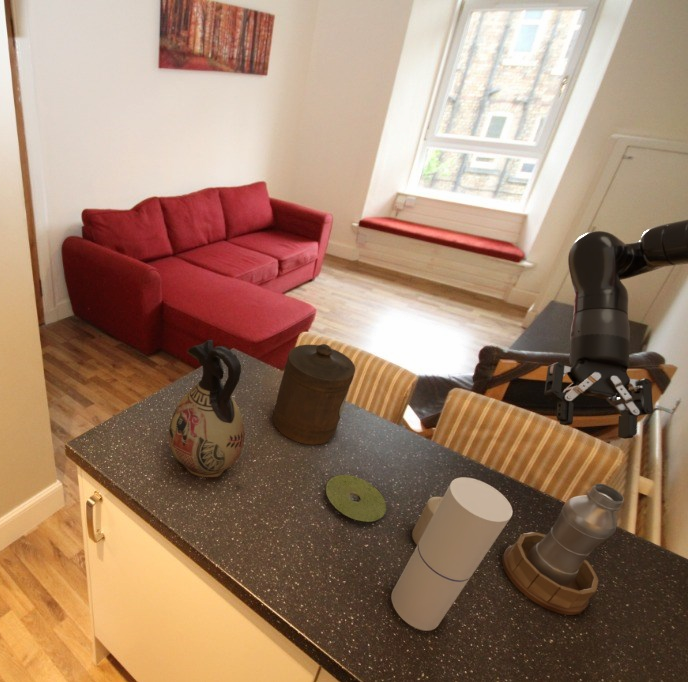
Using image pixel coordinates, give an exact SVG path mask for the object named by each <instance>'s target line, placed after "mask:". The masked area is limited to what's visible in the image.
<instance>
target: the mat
mask: <svg viewBox="0 0 688 682" xmlns="http://www.w3.org/2000/svg"><path fill="white" fill-rule="evenodd" d="M325 494H326V496H327V499H328V500H329V502H330V503H331V505H332V506H333V507H334V508H335V509H336V510H337V511H338V512H340V513H341V514H342V515H344V516H346V517H347V518H350V519H353V520H356V521H359V522H368V523H369V522H371V523H372V522H375V521H377V520H378V521H379V520H380V519H382V518H383V517H384V516H385V514H386V511H387V504H386V499H385V498H384V497H383V495H382V493H381V492H380V491H379V490H378V489H377V488H376V487H375V486H374V485H372V484H371V483H369V482H368V481H367V480H365V479H363V478H360V477H357V476H354V475H350V474H349V475H348V474H339V475H335V476H333V477H331V478H330V479H329V480H328V481H327V483H326V486H325Z"/></svg>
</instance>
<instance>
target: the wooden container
mask: <svg viewBox="0 0 688 682" xmlns="http://www.w3.org/2000/svg"><path fill="white" fill-rule="evenodd" d="M355 373H356V366H355V363H354V362H353V360H351V359H350V357H348V356H347V355H346V354H344V353H342V352H340V351H339V350H337V349H334V348H332V347H331V346H330V345H328V344H326V343H322V344H300V345H297V346H295V347H293V348H291V349H290V351H289V352H288V354H287V357H286V362H285V367H284V370H283V374H282V378H281V380H280V384H279V388H278V393H277V397H276V401H275V405H274V408H273V413H272V422H273V424H274V426H275V428H276V429H277V430H278V431H279V432H280V433H281V434H282V435H283V436H285V437H287V438H288V439H290V440H292V441H294V442H297V443H300V444H304V445H323V444H326V443H328V442H330V441H331V440H332V439H333V438H334V436H335V434H336V432H337V431H336V430H337V428H338V425H339V422H340V420H341V416H342V413H343V410H344V406H345V403H346V399H347V396H348V393H349V391H350V390H349V389H350V386H351V385H352V382H353V380H354V376H355Z"/></svg>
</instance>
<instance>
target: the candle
mask: <svg viewBox="0 0 688 682" xmlns="http://www.w3.org/2000/svg"><path fill="white" fill-rule="evenodd" d="M443 497H444V496H433V497H430V498H429V499H428V501H427V502H426V504H425V506H424V508H423V510H422V512H421V514H420V515H419V518H418V520H417V521H416V523H415V525H414V527H413V530H412V531H411V537H412V540H413V542H414V544H415V545H416V546H417V545H418V543H419V541H420V539H421V537H422V536H423V534H424V532H425V530H426V528H427V526H428V524H429V523H430V521H431V519H432V517H433V515H434V513H435V512H436V510H437V508H438V506H439V504H440V502H441V500H442V499H443Z"/></svg>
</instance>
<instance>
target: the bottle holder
mask: <svg viewBox="0 0 688 682" xmlns="http://www.w3.org/2000/svg"><path fill="white" fill-rule="evenodd" d="M546 535H547V534H544V533H540V532H536V531H535V532H534V531H532V532H527V533H522V534H520V536H519V537H518V539H517V540H516V541H515V543H514V544H512V545H510V546H508V547H507V548H506V549H505V551H504V552H503V553H502V556H501V565H502V568H503V570H504V573H505V574H506V576H507V578H508V579H509V581H510V582H511V583H512V584H513V585H514V586H515V588H516V589H517V590H518V591H519V592H520V593H522V594H523V595H524V597H527V598H528V599H529V600H530V601H532V602H534V603H535V604H536V605H538V606H540V607H542V608H544V609H546V610H548V611H550V612H553V613H555V614H560V615H566V616H574V615H579V614H581V613H583V612H584V611H585V610H586V608H588V606H589V603H590V598H591V597H592V596H593V595H594V594H595V593H596V591H597V589H598V585H599V581H600V580H599V578H598V576H597V574H596V572H595V569H594V568H593V567H592V564H590V562H589V561H588V560H587V559H585V560H584V562H583V563H582V565H581V567H580V568H579V571H578V573H577V576H576V578H575V580H574V581H573V582H572V583H570V584H569V585H567V586H565V587H564V586H561V585H559V584H557V583H556V582H554V581H552V580H551V579H549V578H548V577H546V576H544V575H543V574H541V573H540V572H539V571H538V570H537V569H536V568H535V567H534V566H533V565H532V564H531V563H530V562H529V561H528V559H527V558H526V557H527V555H528V552H529V550H530V549H531V548H532V547H533V546H535V545H536V544H537V543H539V542H540V541H541V540H542V539H543V538H544V537H545V536H546Z"/></svg>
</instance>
